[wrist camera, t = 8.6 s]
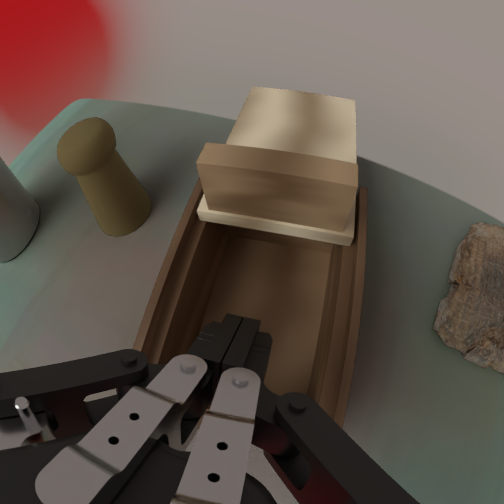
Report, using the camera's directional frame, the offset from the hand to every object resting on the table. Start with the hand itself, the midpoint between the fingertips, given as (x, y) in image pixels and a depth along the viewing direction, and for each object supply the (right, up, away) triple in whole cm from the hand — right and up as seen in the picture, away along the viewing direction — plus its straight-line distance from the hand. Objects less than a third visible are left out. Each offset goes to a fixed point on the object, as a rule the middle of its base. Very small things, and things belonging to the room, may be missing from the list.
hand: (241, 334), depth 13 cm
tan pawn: (-12, +8, +16) cm, 22 cm away
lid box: (+1, -2, +10) cm, 10 cm away
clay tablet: (+27, -3, +8) cm, 28 cm away
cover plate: (+3, +11, +9) cm, 14 cm away
